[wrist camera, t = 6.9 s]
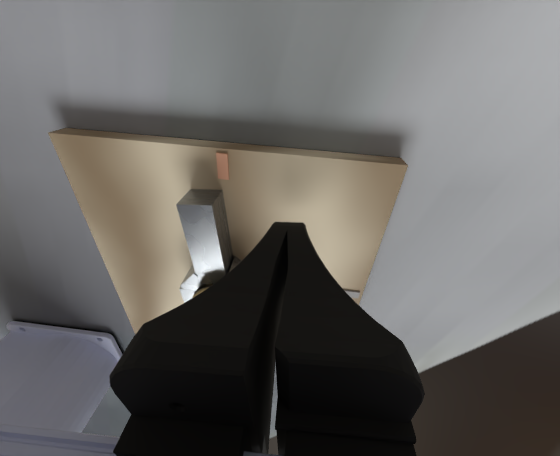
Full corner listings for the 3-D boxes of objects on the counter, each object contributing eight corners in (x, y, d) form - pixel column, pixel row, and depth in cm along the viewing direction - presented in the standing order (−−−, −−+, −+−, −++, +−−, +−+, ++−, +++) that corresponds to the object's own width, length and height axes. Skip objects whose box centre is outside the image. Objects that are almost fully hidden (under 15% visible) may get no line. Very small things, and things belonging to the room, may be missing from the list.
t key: (262, 339, 19) (258, 360, 17) (210, 335, 19) (202, 356, 18) (247, 190, 12) (239, 206, 11) (166, 188, 12) (149, 203, 11)
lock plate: (144, 328, 21) (118, 369, 18) (66, 128, 12) (-8, 147, 9) (336, 352, 20) (340, 399, 18) (400, 157, 11) (431, 189, 9)
